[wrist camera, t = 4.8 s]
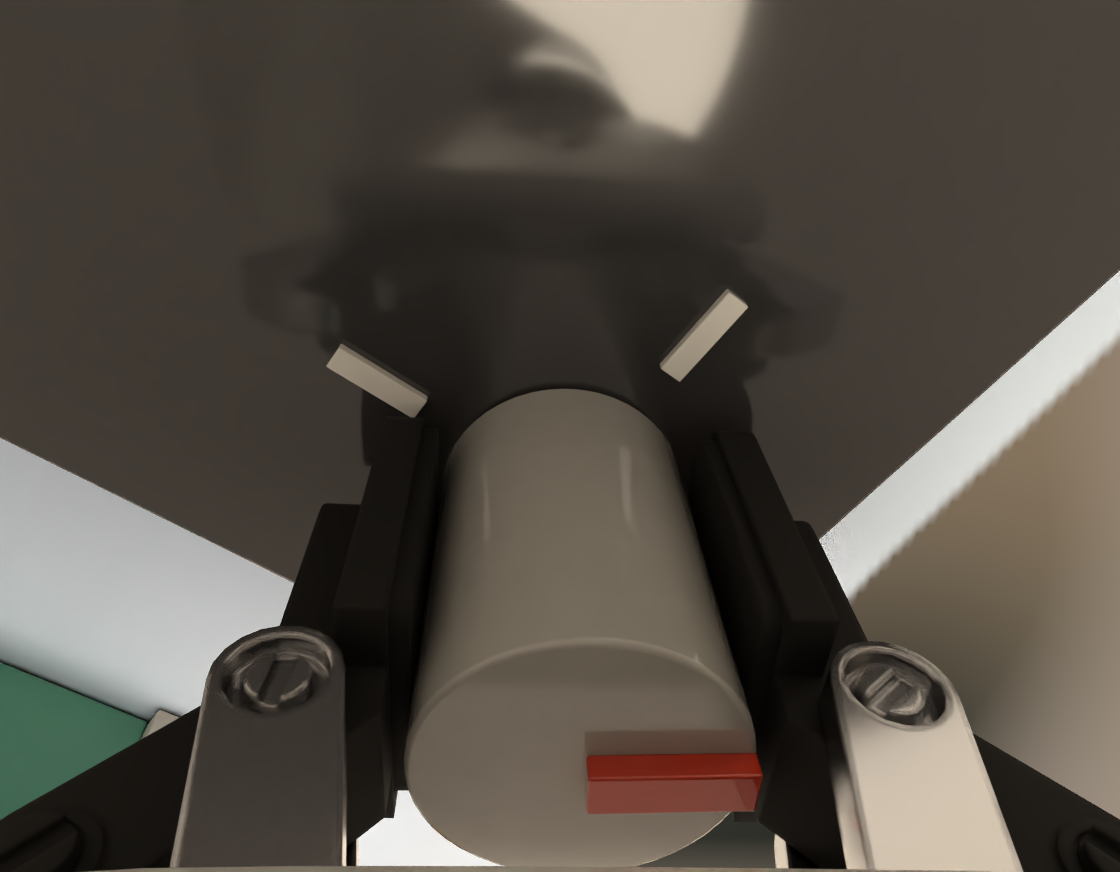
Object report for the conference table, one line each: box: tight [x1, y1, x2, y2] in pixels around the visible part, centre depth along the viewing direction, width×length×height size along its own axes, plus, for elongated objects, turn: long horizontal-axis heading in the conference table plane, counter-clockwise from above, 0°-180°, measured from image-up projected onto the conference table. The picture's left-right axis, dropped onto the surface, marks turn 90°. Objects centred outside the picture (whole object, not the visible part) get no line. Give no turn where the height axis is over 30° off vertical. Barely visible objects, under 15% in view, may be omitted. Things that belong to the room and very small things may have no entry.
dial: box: [403, 388, 763, 867], centre depth 11 cm, size 4×4×5 cm
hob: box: [0, 0, 1120, 583], centre depth 11 cm, size 18×14×3 cm
